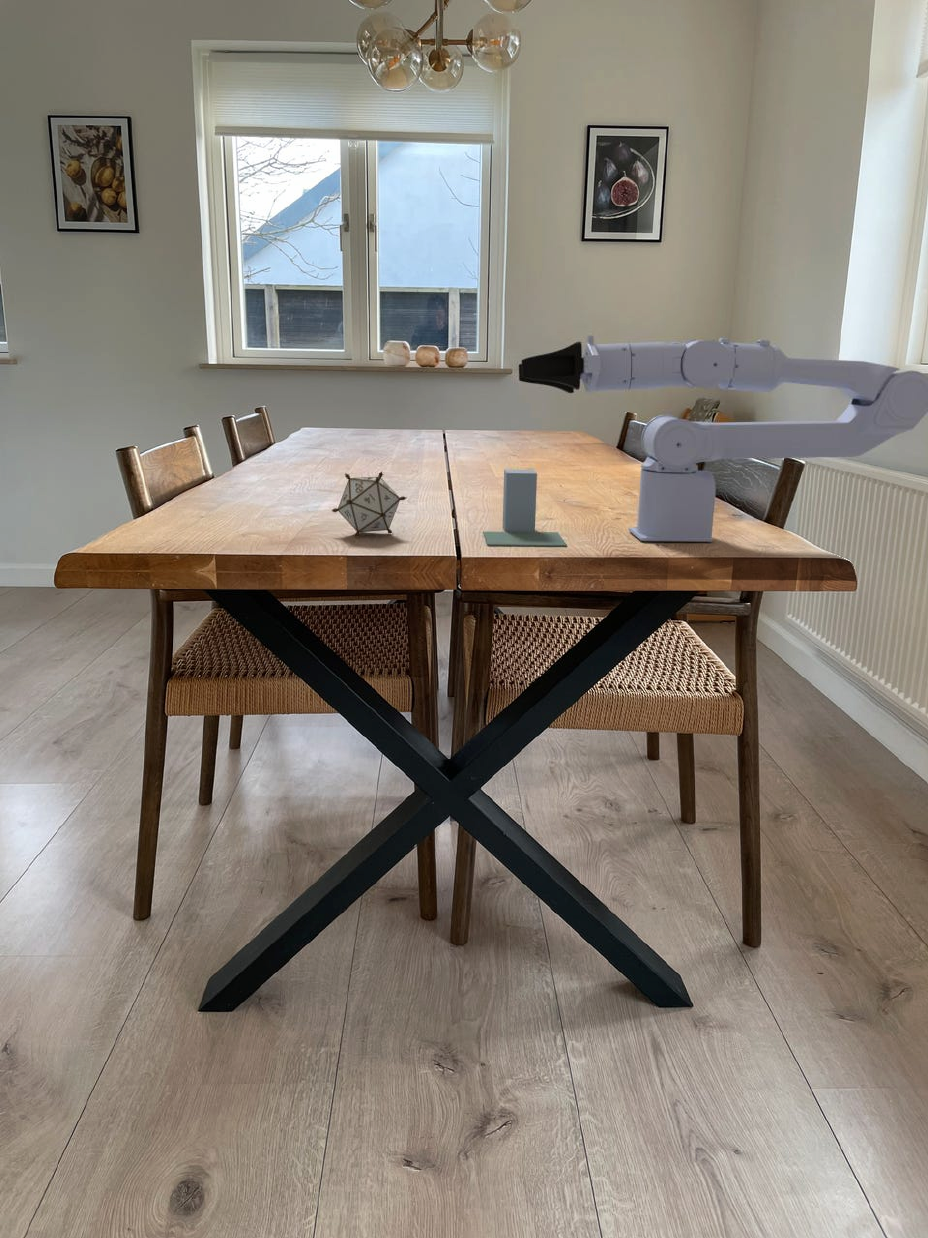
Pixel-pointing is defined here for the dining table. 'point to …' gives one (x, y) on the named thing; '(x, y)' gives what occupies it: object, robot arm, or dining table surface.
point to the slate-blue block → (519, 500)
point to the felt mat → (524, 539)
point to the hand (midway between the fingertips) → (520, 370)
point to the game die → (368, 504)
